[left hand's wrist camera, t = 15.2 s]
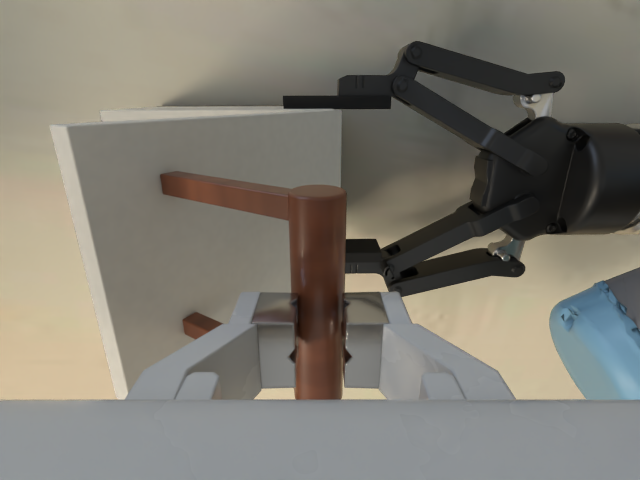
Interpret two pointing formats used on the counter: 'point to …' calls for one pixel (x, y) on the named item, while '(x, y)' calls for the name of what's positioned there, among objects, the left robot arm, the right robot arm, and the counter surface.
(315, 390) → the lid
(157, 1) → the counter surface
